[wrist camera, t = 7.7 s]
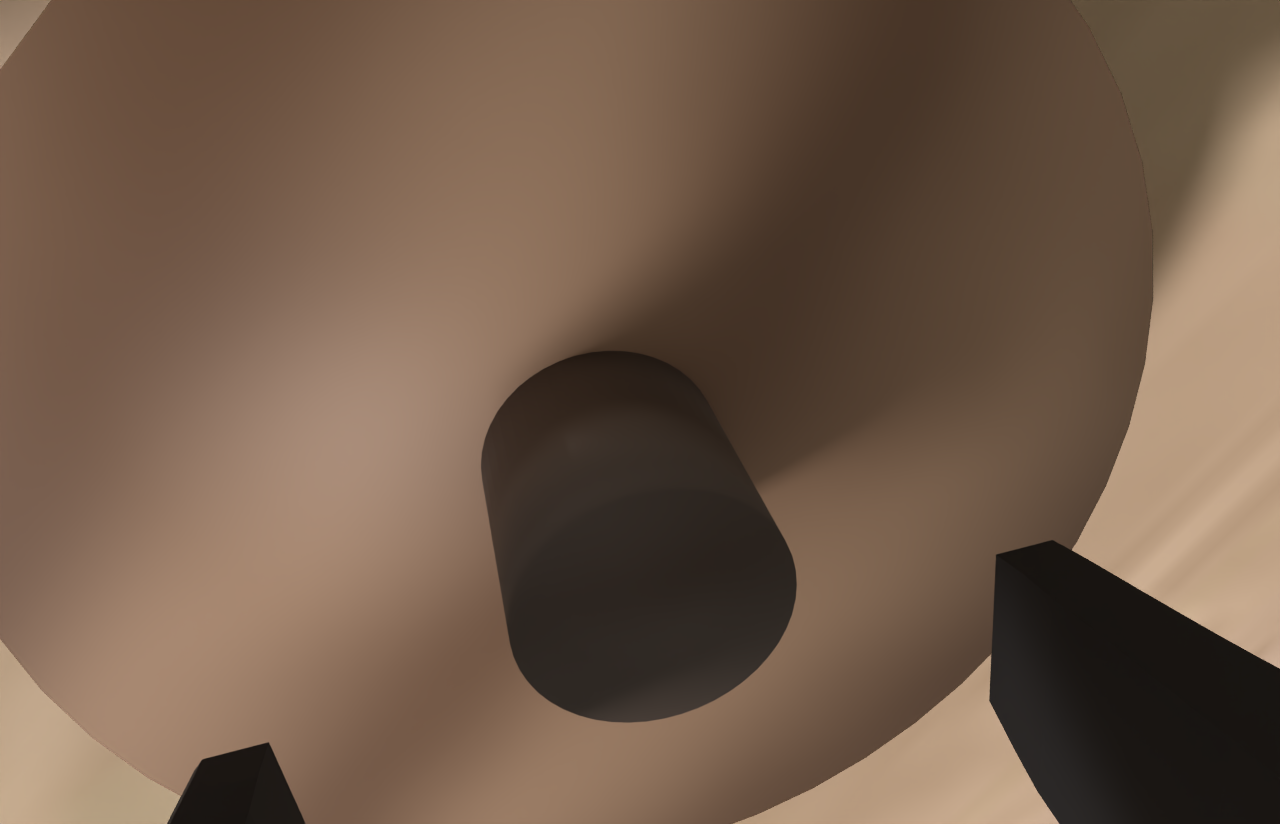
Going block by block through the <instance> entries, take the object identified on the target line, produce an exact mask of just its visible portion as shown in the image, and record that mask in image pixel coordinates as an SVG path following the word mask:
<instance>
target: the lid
mask: <svg viewBox="0 0 1280 824" xmlns="http://www.w3.org/2000/svg"><path fill="white" fill-rule="evenodd" d="M1152 303H1153V231H1152V224H1151V218H1150V211H1149V204H1148V198H1147V191H1146V184H1145V178H1144V171H1143V164H1142V160H1141V157H1140V154H1139V150H1138V147H1137V144H1136V141H1135V137H1134V134H1133V131H1132V127H1131V124H1130V121H1129V118H1128V114H1127V111H1126V108H1125V105H1124V101H1123V98H1122V95H1121V92H1120V90H1119V88H1118V86H1117V84H1116V82H1115V80H1114V78H1113V76H1112V74H1111V72H1110V70H1109V68H1108V65H1107V63H1106V61H1105V59H1104V57H1103V55H1102V53H1101V51H1100V49H1099V47H1098V45H1097V43H1096V41H1095V39H1094V37H1093V34H1092V32H1091V30H1090V28H1089V26H1088V25H1087V23H1086V22H1085V20H1084V19H1083V18H1082V16H1081V15H1080V13H1079V12H1078V10H1077V9H1076V8H1075V6H1074V5H1073V3H1072V2H1071V0H51V1H50V3H49V4H48V5H47V7H46V8H45V10H44V11H43V12H42V14H41V15H40V16H39V18H38V19H37V20H36V22H35V23H34V24H33V26H32V27H31V29H30V30H29V31H28V33H27V34H26V35H25V37H24V38H23V39H22V41H21V42H20V43H19V45H18V46H17V48H16V49H15V50H14V52H13V53H12V54H11V56H10V57H9V58H8V60H7V61H6V62H5V64H4V65H3V67H2V68H1V69H0V639H1V640H2V642H3V643H4V644H5V645H6V647H7V648H8V649H9V650H10V652H11V653H12V654H13V655H14V657H15V658H16V659H17V660H18V662H19V663H20V664H21V665H22V667H23V668H24V669H25V670H26V671H27V673H28V674H29V675H30V676H31V678H32V679H33V680H34V681H35V683H36V684H37V685H38V686H39V688H40V689H41V690H42V691H43V692H44V693H45V694H46V695H47V696H48V697H49V698H50V699H51V700H53V701H54V702H55V703H56V704H57V705H58V706H59V707H60V708H61V709H62V710H63V711H64V712H65V713H66V714H67V715H69V716H70V717H71V718H72V719H73V720H74V721H75V722H76V723H77V724H78V725H79V726H80V727H81V728H82V729H83V730H84V731H86V732H87V733H88V734H89V735H90V736H91V737H92V738H93V739H95V740H96V741H97V742H99V743H100V744H102V745H103V746H104V747H106V748H107V749H108V750H110V751H111V752H113V753H114V754H115V755H117V756H118V757H120V758H121V759H122V760H124V761H125V762H127V763H128V764H129V765H131V766H132V767H133V768H135V769H136V770H138V771H139V772H140V773H142V774H143V775H145V776H146V777H147V778H149V779H151V780H153V781H155V782H156V783H158V784H160V785H162V786H164V787H165V788H167V789H169V790H171V791H173V792H175V793H176V794H178V795H180V796H181V795H182V793H183V791H184V789H185V788H186V786H187V784H188V782H189V780H190V778H191V776H192V774H193V772H194V770H195V769H196V767H197V766H198V765H199V763H200V762H201V760H202V759H205V758H209V757H213V756H217V755H221V754H225V753H229V752H232V751H236V750H240V749H244V748H248V747H252V746H256V745H260V744H263V743H267V742H269V743H270V746H271V748H272V750H273V752H274V755H275V757H276V759H277V761H278V763H279V766H280V768H281V770H282V772H283V774H284V777H285V779H286V781H287V783H288V786H289V788H290V790H291V792H292V794H293V797H294V799H295V801H296V803H297V805H298V808H299V810H300V812H301V814H302V817H303V819H304V821H305V823H306V824H733V823H735V822H738V821H741V820H743V819H746V818H749V817H752V816H754V815H757V814H759V813H761V812H763V811H766V810H768V809H770V808H772V807H774V806H776V805H778V804H780V803H783V802H785V801H787V800H789V799H791V798H793V797H795V796H797V795H800V794H802V793H804V792H806V791H808V790H810V789H812V788H814V787H816V786H818V785H819V784H821V783H823V782H824V781H826V780H828V779H830V778H831V777H833V776H835V775H837V774H838V773H840V772H842V771H843V770H845V769H847V768H849V767H850V766H852V765H854V764H856V763H857V762H859V761H861V760H862V759H864V758H866V757H867V756H869V755H870V754H871V753H873V752H874V751H876V750H877V749H879V748H880V747H881V746H883V745H884V744H886V743H887V742H889V741H890V740H891V739H893V738H894V737H896V736H897V735H899V734H900V733H901V732H903V731H904V730H906V729H907V728H909V727H910V726H911V725H913V724H914V723H915V722H917V721H918V720H919V719H920V718H921V717H923V716H924V715H925V714H926V713H927V712H929V711H930V710H931V709H932V708H933V707H934V706H936V705H937V704H938V703H939V702H940V701H942V700H943V699H944V698H945V697H946V696H948V695H949V694H950V693H951V692H952V691H953V690H955V689H956V688H957V687H958V686H959V685H961V684H962V683H963V682H964V681H965V680H966V679H967V678H968V677H969V676H970V675H971V674H972V673H973V672H974V671H975V670H976V669H977V667H978V666H979V665H980V664H981V663H982V662H983V661H984V660H985V659H986V658H987V657H988V656H989V655H990V654H991V653H992V632H993V609H994V587H995V564H996V554H1000V553H1004V552H1008V551H1012V550H1015V549H1019V548H1023V547H1027V546H1031V545H1035V544H1039V543H1043V542H1046V541H1050V540H1054V541H1056V542H1057V543H1059V544H1061V545H1063V546H1065V547H1066V548H1068V549H1070V550H1072V548H1073V547H1074V545H1075V544H1076V542H1077V541H1078V539H1079V537H1080V535H1081V533H1082V531H1083V529H1084V527H1085V525H1086V523H1087V521H1088V519H1089V517H1090V516H1091V514H1092V512H1093V510H1094V508H1095V506H1096V504H1097V502H1098V500H1099V498H1100V496H1101V494H1102V492H1103V491H1104V489H1105V487H1106V484H1107V482H1108V479H1109V477H1110V474H1111V471H1112V469H1113V466H1114V464H1115V461H1116V459H1117V456H1118V453H1119V451H1120V448H1121V446H1122V443H1123V440H1124V438H1125V435H1126V433H1127V430H1128V427H1129V424H1130V420H1131V416H1132V412H1133V408H1134V404H1135V401H1136V397H1137V393H1138V389H1139V385H1140V381H1141V377H1142V373H1143V369H1144V365H1145V359H1146V351H1147V343H1148V335H1149V327H1150V319H1151V311H1152Z"/></svg>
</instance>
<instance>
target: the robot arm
mask: <svg viewBox="0 0 1280 824" xmlns="http://www.w3.org/2000/svg"><path fill="white" fill-rule="evenodd" d="M989 701H990V703H991V705H992V707H993V708H994V710H995V712H996V714H997V716H998V718H999V720H1000V722H1001V724H1002V726H1003V728H1004V730H1005V732H1006V734H1007V736H1008V738H1009V740H1010V742H1011V744H1012V745H1013V747H1014V749H1015V751H1016V753H1017V755H1018V757H1019V759H1020V760H1021V762H1022V764H1023V766H1024V768H1025V769H1026V771H1027V773H1028V775H1029V777H1030V779H1031V780H1032V782H1033V784H1034V786H1035V788H1036V790H1037V791H1038V793H1039V794H1040V796H1041V797H1042V799H1043V800H1044V802H1045V803H1046V805H1047V806H1048V808H1049V809H1050V811H1051V812H1052V814H1053V815H1054V816H1055V818H1056V819H1057V821H1058V822H1059V824H1280V669H1279V668H1277V667H1275V666H1274V665H1272V664H1270V663H1268V662H1266V661H1264V660H1262V659H1261V658H1259V657H1257V656H1255V655H1253V654H1251V653H1250V652H1248V651H1246V650H1244V649H1242V648H1241V647H1239V646H1237V645H1235V644H1233V643H1232V642H1230V641H1228V640H1226V639H1224V638H1223V637H1221V636H1219V635H1217V634H1215V633H1214V632H1212V631H1210V630H1208V629H1207V628H1205V627H1203V626H1201V625H1200V624H1198V623H1196V622H1194V621H1193V620H1191V619H1189V618H1187V617H1186V616H1184V615H1182V614H1180V613H1179V612H1177V611H1175V610H1174V609H1172V608H1170V607H1168V606H1167V605H1165V604H1163V603H1161V602H1160V601H1158V600H1156V599H1155V598H1153V597H1151V596H1149V595H1148V594H1146V593H1144V592H1143V591H1141V590H1139V589H1137V588H1136V587H1134V586H1132V585H1131V584H1129V583H1127V582H1125V581H1124V580H1122V579H1120V578H1119V577H1117V576H1115V575H1113V574H1112V573H1110V572H1108V571H1107V570H1105V569H1103V568H1101V567H1100V566H1098V565H1096V564H1095V563H1093V562H1091V561H1089V560H1088V559H1086V558H1084V557H1082V556H1081V555H1079V554H1077V553H1075V552H1074V551H1072V550H1070V549H1068V548H1066V547H1065V546H1063V545H1061V544H1059V543H1057V542H1056V541H1054V540H1050V541H1046V542H1043V543H1039V544H1035V545H1031V546H1027V547H1023V548H1019V549H1015V550H1012V551H1008V552H1004V553H1000V554H996V564H995V587H994V609H993V632H992V654H991V677H990V699H989ZM167 824H306V823H305V821H304V819H303V817H302V814H301V812H300V810H299V808H298V805H297V803H296V801H295V799H294V797H293V794H292V792H291V790H290V788H289V786H288V783H287V781H286V779H285V777H284V774H283V772H282V770H281V768H280V766H279V763H278V761H277V759H276V757H275V755H274V752H273V750H272V748H271V746H270V743H269V742H267V743H263V744H260V745H256V746H252V747H248V748H244V749H240V750H236V751H232V752H229V753H225V754H221V755H217V756H213V757H209V758H205V759H202V760H201V762H200V763H199V765H198V766H197V767H196V769H195V770H194V772H193V774H192V776H191V778H190V780H189V782H188V784H187V786H186V788H185V789H184V791H183V793H182V795H181V797H180V799H179V801H178V803H177V805H176V807H175V809H174V811H173V813H172V815H171V817H170V819H169V821H168V823H167Z"/></svg>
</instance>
